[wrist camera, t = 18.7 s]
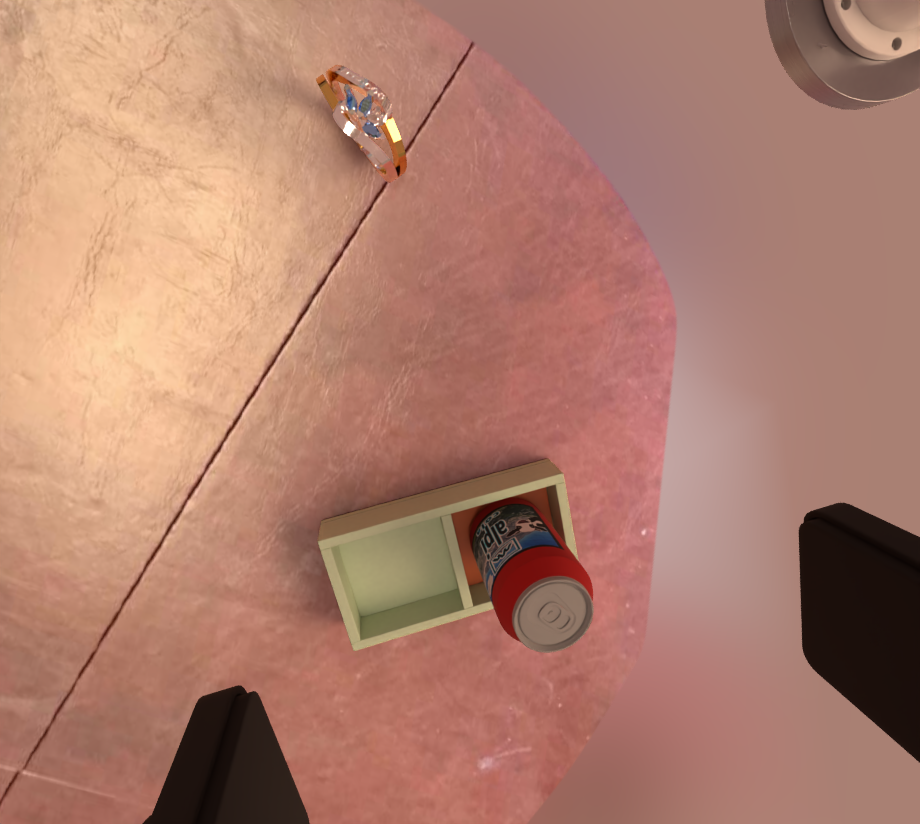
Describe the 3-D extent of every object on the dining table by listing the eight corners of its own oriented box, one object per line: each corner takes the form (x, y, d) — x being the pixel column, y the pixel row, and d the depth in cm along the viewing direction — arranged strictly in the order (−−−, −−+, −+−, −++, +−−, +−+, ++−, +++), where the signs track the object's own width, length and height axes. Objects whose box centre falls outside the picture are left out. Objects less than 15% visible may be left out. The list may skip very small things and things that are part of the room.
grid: (566, 560, 47) (582, 582, 44) (354, 623, 45) (353, 651, 42) (548, 457, 45) (563, 473, 41) (320, 520, 42) (317, 541, 39)
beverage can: (503, 478, 43) (552, 549, 32) (559, 522, 45) (624, 604, 34) (450, 538, 44) (481, 629, 32) (508, 579, 46) (555, 679, 34)
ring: (410, 176, 37) (422, 150, 30) (373, 201, 37) (375, 182, 30) (352, 80, 35) (348, 25, 27) (312, 107, 35) (298, 59, 27)
